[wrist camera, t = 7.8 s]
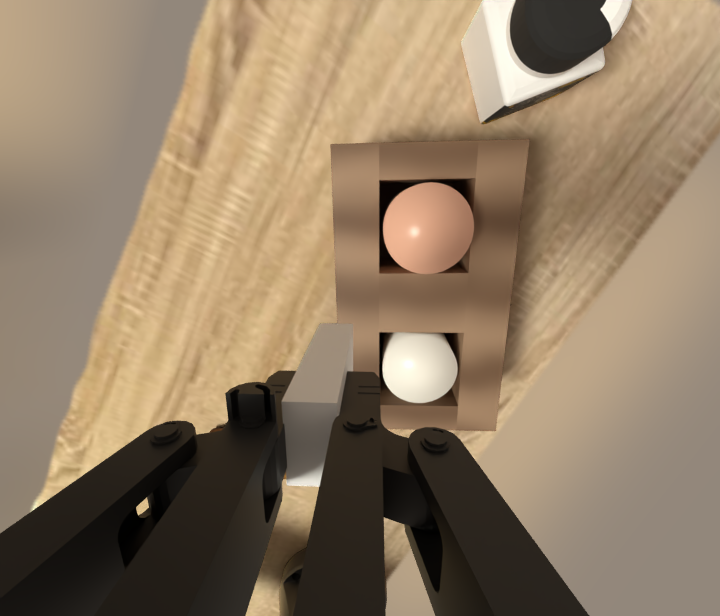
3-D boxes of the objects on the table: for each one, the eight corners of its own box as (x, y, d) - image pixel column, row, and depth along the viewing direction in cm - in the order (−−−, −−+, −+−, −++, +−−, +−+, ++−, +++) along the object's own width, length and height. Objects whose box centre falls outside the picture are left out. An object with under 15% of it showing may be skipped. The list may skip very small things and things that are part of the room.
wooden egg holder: (470, 381, 40) (495, 431, 31) (349, 380, 41) (341, 428, 32) (490, 154, 33) (529, 138, 24) (342, 158, 34) (330, 144, 25)
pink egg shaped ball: (449, 256, 33) (470, 273, 26) (382, 257, 34) (383, 274, 26) (453, 185, 31) (477, 181, 24) (382, 187, 32) (383, 183, 24)
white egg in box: (440, 363, 38) (455, 403, 31) (381, 362, 39) (382, 402, 31) (443, 307, 37) (459, 336, 29) (382, 307, 37) (382, 335, 29)
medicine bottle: (479, 126, 32) (534, 86, 21) (459, 41, 30) (507, -54, 19) (558, 95, 31) (662, 35, 20) (542, 5, 29) (646, -119, 18)
